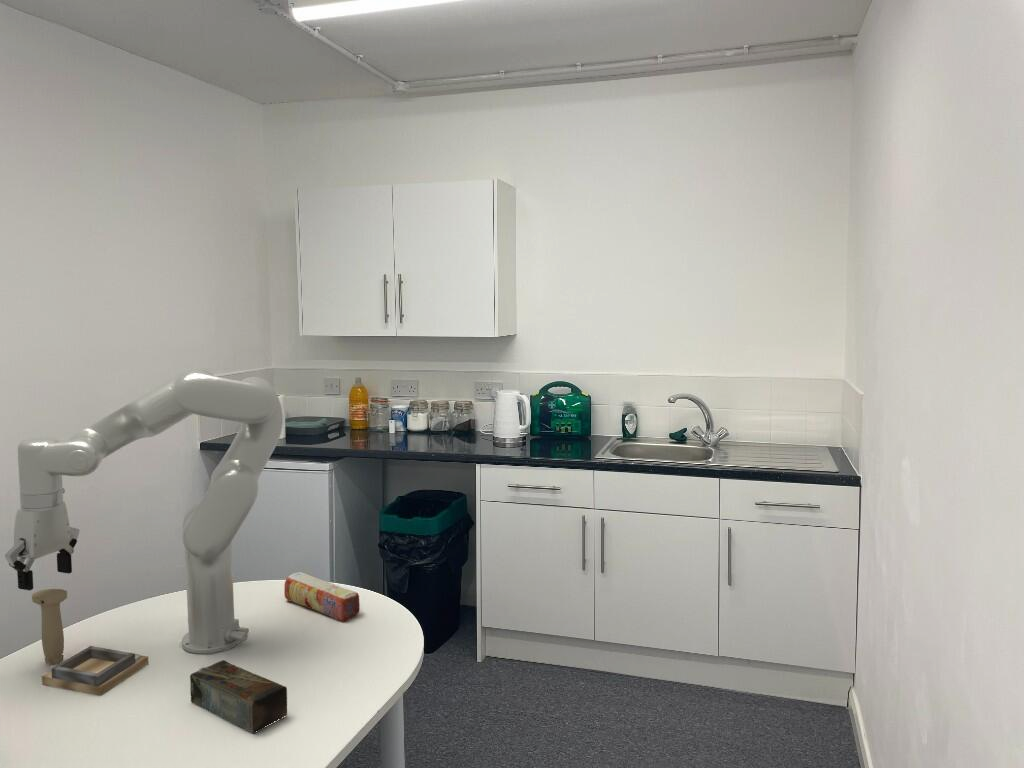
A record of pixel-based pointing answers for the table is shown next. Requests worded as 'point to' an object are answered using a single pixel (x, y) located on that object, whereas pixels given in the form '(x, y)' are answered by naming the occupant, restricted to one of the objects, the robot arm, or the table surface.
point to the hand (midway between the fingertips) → (45, 580)
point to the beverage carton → (238, 695)
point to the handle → (51, 623)
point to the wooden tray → (94, 670)
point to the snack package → (322, 596)
